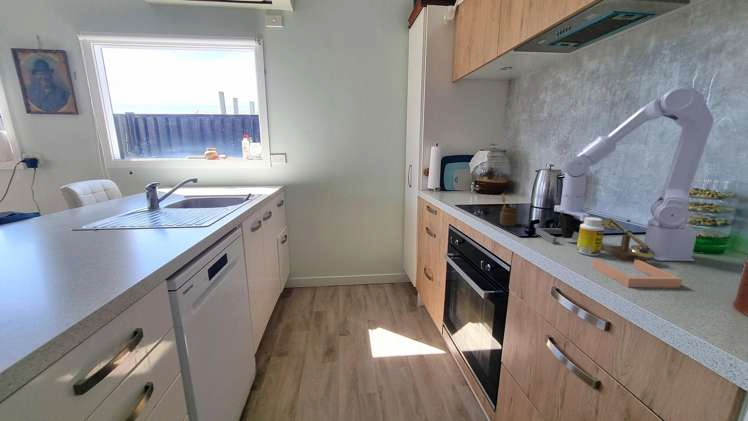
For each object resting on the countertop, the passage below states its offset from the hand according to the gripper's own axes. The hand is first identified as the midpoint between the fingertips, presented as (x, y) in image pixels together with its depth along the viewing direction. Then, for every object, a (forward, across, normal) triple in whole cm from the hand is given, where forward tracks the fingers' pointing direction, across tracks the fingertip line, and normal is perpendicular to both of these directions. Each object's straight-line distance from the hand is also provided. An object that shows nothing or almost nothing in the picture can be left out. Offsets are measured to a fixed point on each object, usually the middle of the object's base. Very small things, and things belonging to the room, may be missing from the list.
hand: (566, 237), depth 93 cm
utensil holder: (+2, -22, -10) cm, 24 cm away
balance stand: (+1, +11, +9) cm, 14 cm away
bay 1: (+1, -3, 0) cm, 3 cm away
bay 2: (+1, +25, 0) cm, 25 cm away
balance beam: (-3, +11, +9) cm, 14 cm away
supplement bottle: (+2, +10, 0) cm, 10 cm away
